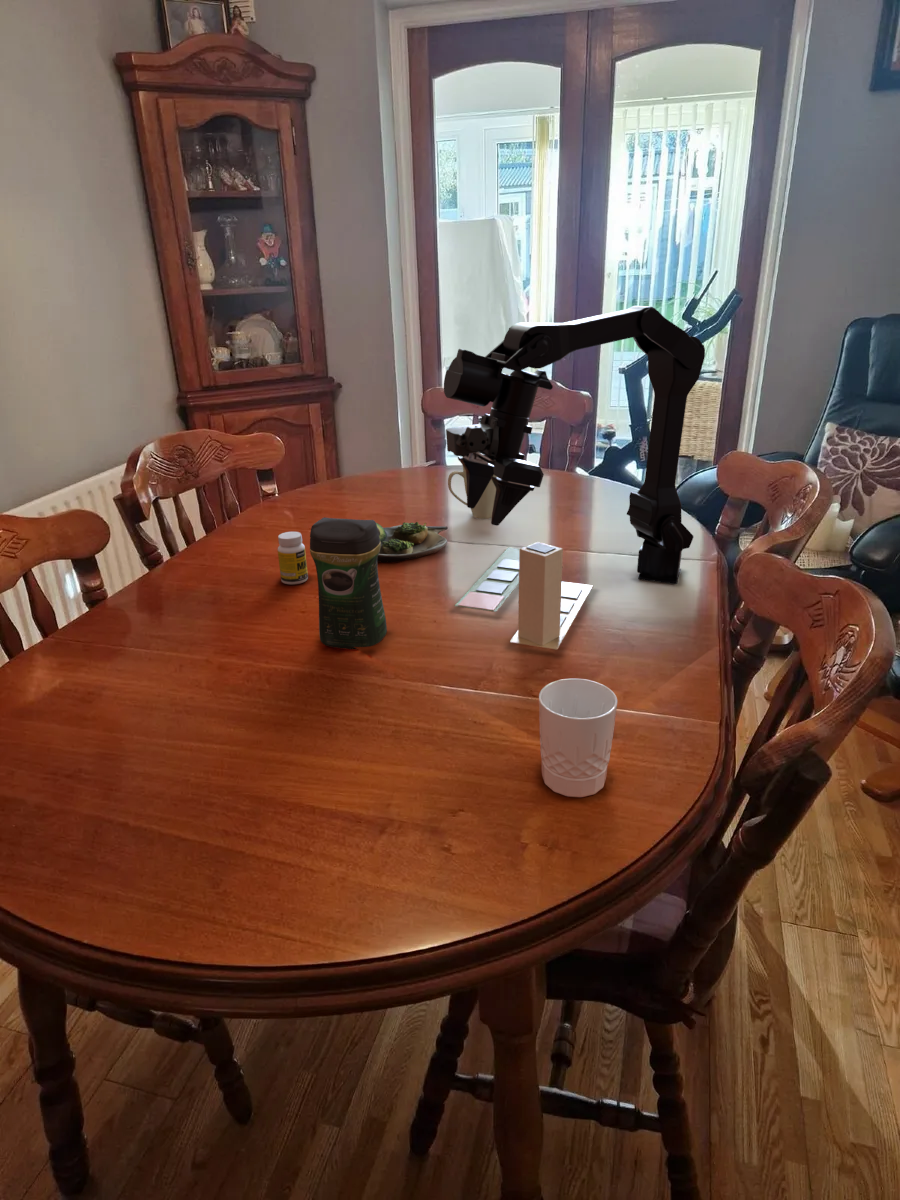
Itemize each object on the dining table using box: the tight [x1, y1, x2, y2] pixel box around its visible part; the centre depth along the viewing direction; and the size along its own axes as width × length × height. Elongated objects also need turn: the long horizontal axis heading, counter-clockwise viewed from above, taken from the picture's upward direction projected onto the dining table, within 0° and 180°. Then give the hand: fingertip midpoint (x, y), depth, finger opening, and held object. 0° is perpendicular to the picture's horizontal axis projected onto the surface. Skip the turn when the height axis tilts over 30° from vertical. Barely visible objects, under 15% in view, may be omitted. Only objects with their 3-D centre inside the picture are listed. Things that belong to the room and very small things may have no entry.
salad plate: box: [376, 521, 449, 564], centre depth 147 cm, size 19×18×5 cm
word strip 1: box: [454, 546, 520, 613], centre depth 130 cm, size 28×7×1 cm, turn 158°
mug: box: [447, 466, 497, 520], centre depth 161 cm, size 11×10×12 cm
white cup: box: [538, 678, 618, 798], centre depth 79 cm, size 8×8×10 cm
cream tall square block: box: [517, 541, 564, 646], centre depth 106 cm, size 4×4×14 cm
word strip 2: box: [509, 581, 594, 651], centre depth 117 cm, size 24×7×1 cm, turn 158°
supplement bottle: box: [277, 531, 309, 586], centre depth 131 cm, size 5×5×8 cm
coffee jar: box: [309, 516, 388, 651], centre depth 108 cm, size 10×8×19 cm
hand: (482, 516), depth 114 cm, fingers open, 9 cm apart
